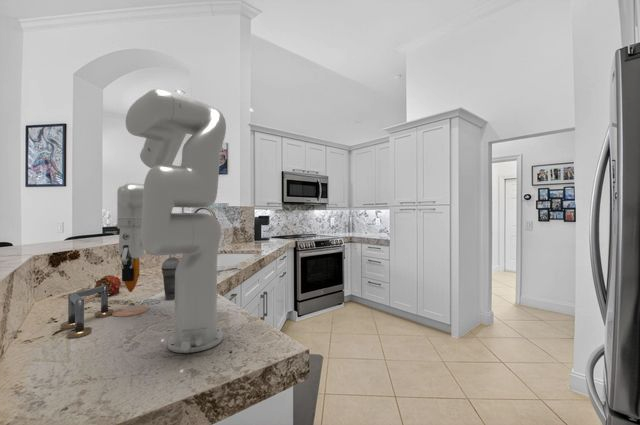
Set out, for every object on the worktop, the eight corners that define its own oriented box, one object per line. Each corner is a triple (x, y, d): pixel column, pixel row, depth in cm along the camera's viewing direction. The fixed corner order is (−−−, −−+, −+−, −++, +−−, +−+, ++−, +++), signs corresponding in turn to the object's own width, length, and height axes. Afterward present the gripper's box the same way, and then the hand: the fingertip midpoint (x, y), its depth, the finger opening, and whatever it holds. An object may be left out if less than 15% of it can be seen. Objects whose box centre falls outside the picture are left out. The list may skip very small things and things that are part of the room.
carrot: (137, 293, 93) (138, 246, 93) (119, 294, 91) (119, 247, 91) (141, 289, 98) (141, 245, 98) (123, 291, 96) (123, 245, 96)
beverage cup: (173, 301, 105) (173, 246, 106) (156, 300, 107) (156, 246, 107) (186, 296, 113) (186, 244, 113) (170, 295, 114) (170, 244, 114)
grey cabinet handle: (86, 336, 74) (86, 301, 75) (38, 342, 71) (38, 305, 72) (116, 311, 94) (116, 283, 95) (79, 315, 91) (80, 286, 92)
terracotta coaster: (144, 314, 91) (144, 312, 91) (106, 318, 88) (106, 316, 88) (152, 305, 101) (152, 304, 101) (118, 308, 98) (118, 306, 98)
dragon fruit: (105, 302, 110) (105, 300, 120) (127, 286, 115) (125, 285, 125) (89, 286, 108) (90, 285, 118) (111, 270, 113) (111, 270, 122)
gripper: (136, 224, 88) (136, 284, 88) (150, 223, 104) (150, 273, 104) (107, 224, 86) (107, 286, 85) (126, 223, 102) (126, 275, 102)
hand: (130, 278), depth 95 cm, fingers closed on carrot, 4 cm apart
